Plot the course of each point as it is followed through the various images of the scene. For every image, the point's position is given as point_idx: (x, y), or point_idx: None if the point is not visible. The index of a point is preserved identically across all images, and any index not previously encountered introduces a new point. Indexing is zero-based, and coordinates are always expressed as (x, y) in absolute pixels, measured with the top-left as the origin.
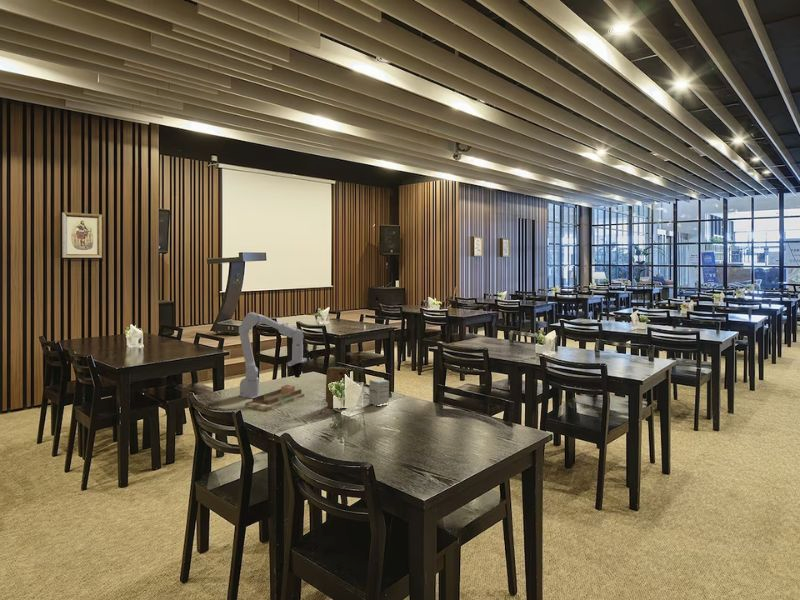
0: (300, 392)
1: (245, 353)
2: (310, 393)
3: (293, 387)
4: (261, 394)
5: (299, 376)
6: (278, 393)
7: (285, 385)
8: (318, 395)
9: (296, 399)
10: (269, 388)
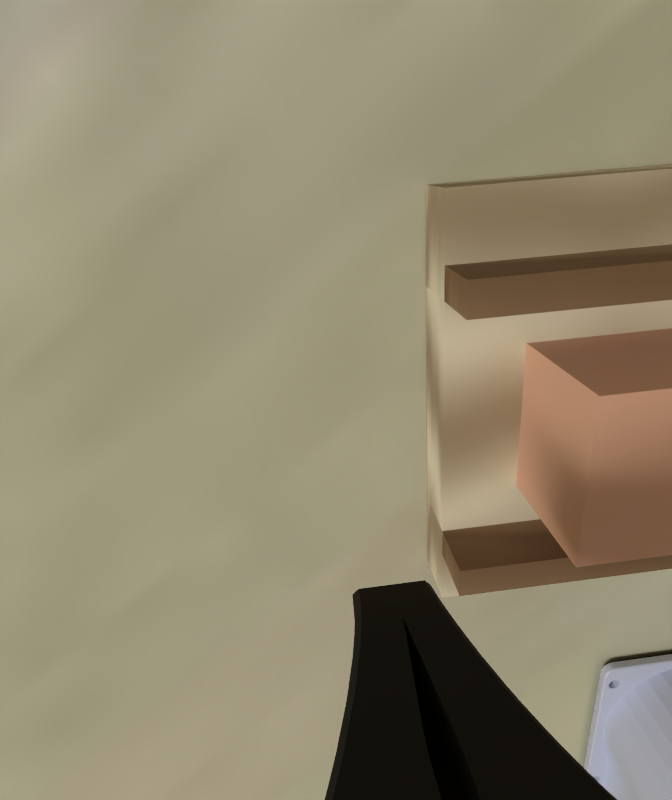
0: (478, 267)
1: None
2: (147, 287)
3: (627, 384)
4: (614, 677)
5: (372, 598)
6: None
7: (622, 560)
8: (145, 48)
9: (660, 166)
10: (314, 796)
